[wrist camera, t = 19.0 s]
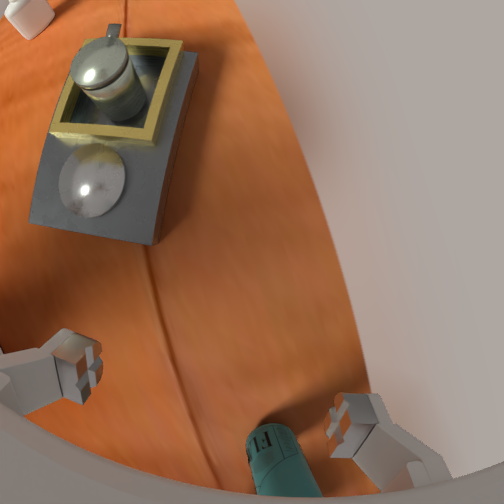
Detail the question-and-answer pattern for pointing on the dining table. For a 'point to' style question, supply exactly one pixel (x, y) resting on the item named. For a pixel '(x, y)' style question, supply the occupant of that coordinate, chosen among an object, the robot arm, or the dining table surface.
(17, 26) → the eye dropper bottle
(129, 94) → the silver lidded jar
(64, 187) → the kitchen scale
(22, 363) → the robot arm
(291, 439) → the beverage bottle
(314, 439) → the dining table surface
